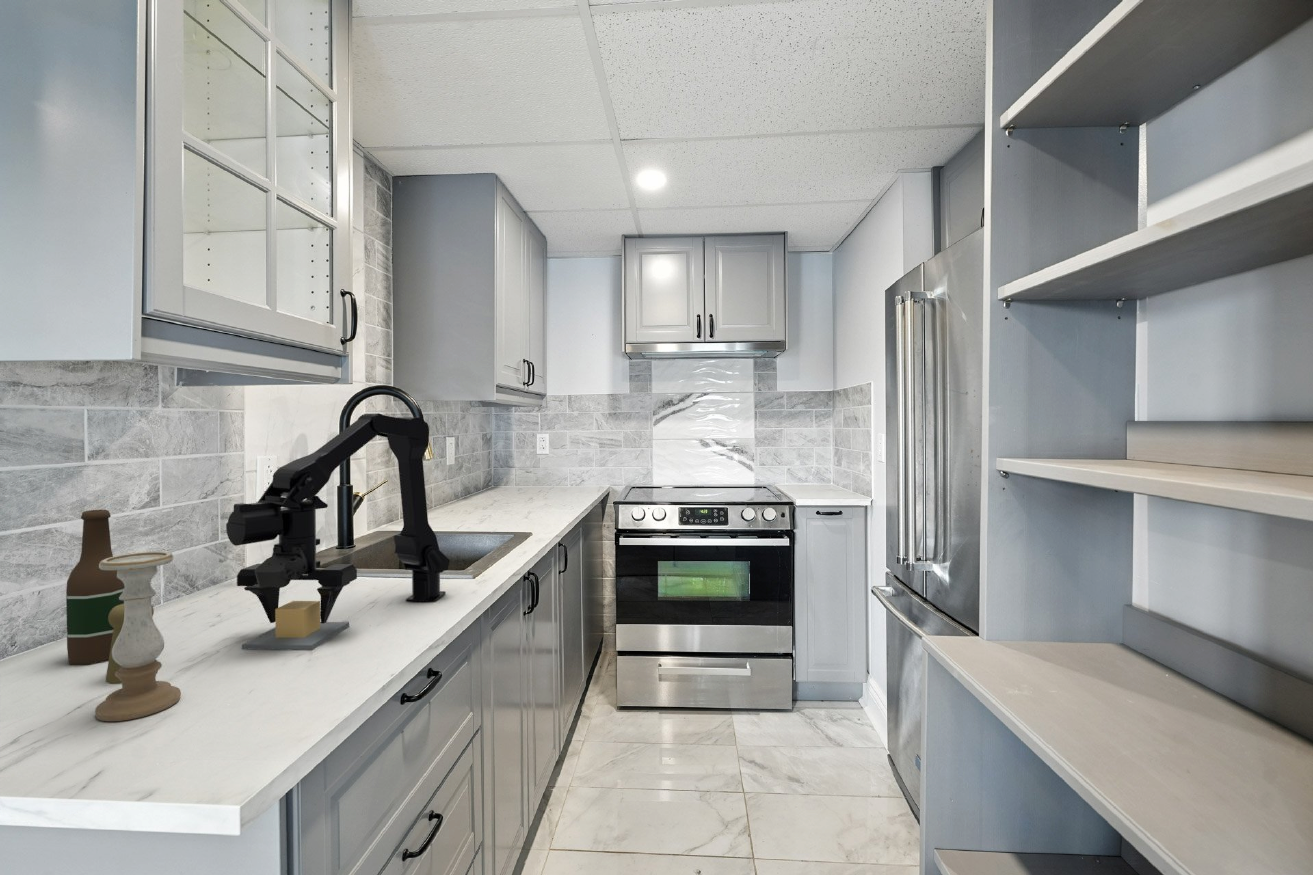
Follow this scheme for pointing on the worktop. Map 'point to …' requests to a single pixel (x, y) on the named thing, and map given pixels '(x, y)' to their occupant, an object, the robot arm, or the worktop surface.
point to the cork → (116, 622)
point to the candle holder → (137, 642)
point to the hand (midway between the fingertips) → (298, 622)
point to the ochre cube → (297, 619)
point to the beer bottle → (92, 594)
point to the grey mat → (308, 642)
